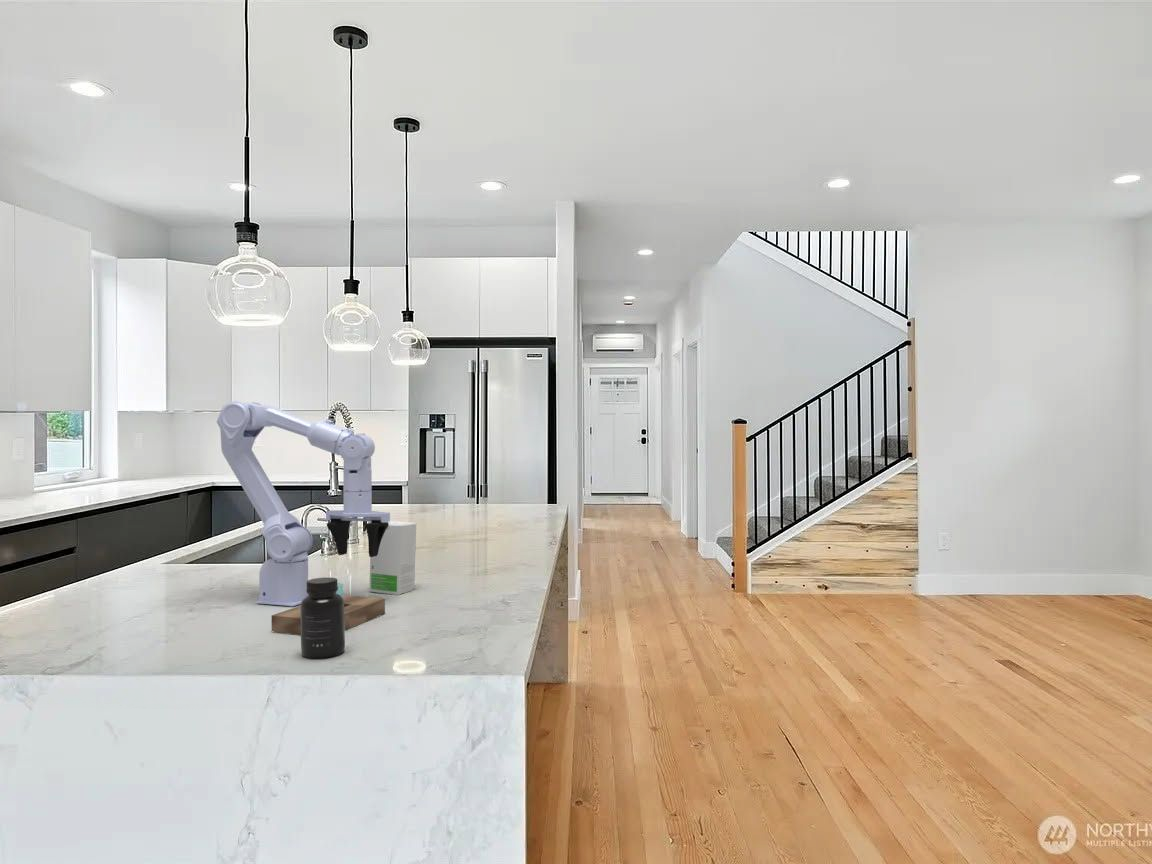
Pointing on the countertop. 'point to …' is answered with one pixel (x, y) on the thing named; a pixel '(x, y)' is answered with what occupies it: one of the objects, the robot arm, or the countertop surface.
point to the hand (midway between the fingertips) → (357, 555)
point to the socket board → (354, 614)
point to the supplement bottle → (322, 620)
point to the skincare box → (395, 560)
